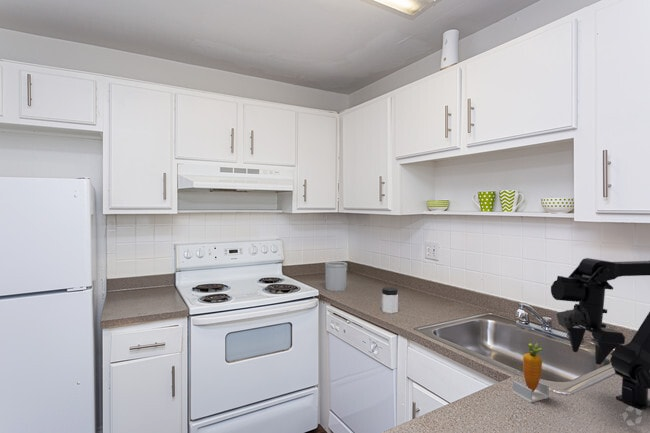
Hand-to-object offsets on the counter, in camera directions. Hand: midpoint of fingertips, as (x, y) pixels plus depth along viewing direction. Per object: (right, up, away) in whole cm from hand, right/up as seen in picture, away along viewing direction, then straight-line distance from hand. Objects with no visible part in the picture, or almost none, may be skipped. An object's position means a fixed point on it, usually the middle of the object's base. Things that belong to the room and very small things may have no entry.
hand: (586, 357), depth 104 cm
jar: (-40, -11, +91) cm, 100 cm away
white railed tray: (-13, -13, +5) cm, 19 cm away
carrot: (-13, -12, +4) cm, 18 cm away
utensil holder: (-67, -9, +143) cm, 158 cm away
